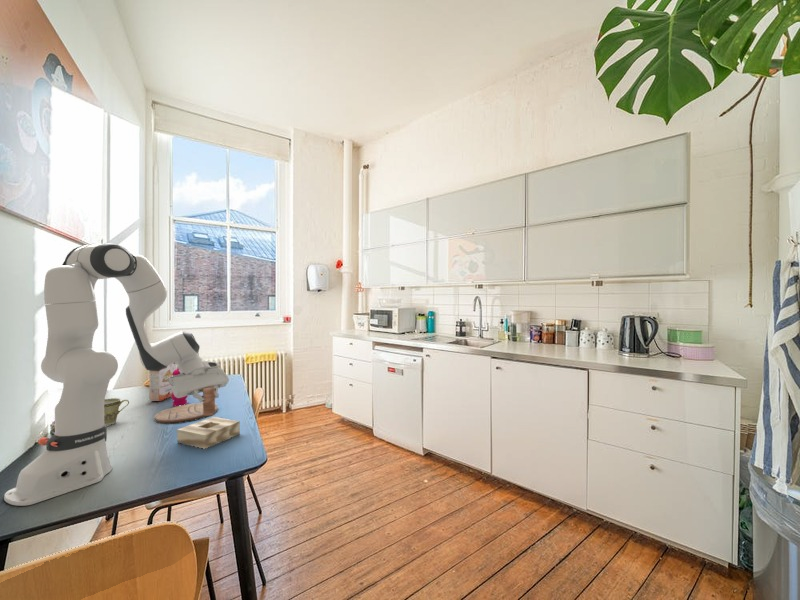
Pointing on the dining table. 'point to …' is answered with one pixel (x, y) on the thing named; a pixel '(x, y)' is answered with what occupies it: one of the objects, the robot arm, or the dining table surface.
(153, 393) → the cracker box
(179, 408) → the trivet
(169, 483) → the dining table surface
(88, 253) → the robot arm
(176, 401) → the pepper mill
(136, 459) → the dining table surface
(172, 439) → the dining table surface
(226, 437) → the socket block
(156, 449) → the dining table surface
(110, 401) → the ceramic cup
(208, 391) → the peg
